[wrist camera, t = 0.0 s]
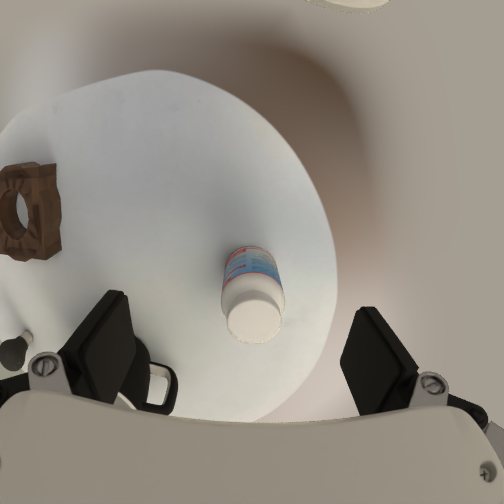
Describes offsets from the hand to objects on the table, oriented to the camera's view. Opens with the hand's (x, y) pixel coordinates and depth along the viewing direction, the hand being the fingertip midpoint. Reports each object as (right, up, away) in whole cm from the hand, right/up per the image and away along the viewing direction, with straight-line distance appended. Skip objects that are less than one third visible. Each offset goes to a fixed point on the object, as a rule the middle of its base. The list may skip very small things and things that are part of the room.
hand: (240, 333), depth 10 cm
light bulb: (-42, -12, +26) cm, 51 cm away
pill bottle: (0, +1, +23) cm, 23 cm away
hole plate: (-32, +10, +19) cm, 38 cm away
